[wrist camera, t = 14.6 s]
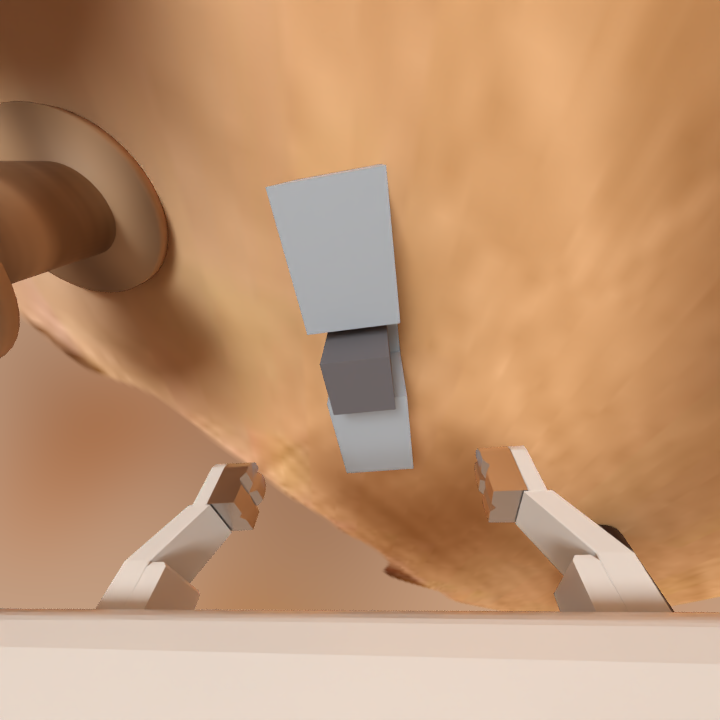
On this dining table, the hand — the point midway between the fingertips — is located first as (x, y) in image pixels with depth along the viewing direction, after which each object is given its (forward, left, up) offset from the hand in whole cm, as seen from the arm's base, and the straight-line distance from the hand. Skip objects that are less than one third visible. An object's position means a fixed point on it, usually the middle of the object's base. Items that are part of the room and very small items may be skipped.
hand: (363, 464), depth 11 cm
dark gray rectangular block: (0, +1, -12) cm, 12 cm away
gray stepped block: (0, +1, -13) cm, 13 cm away
